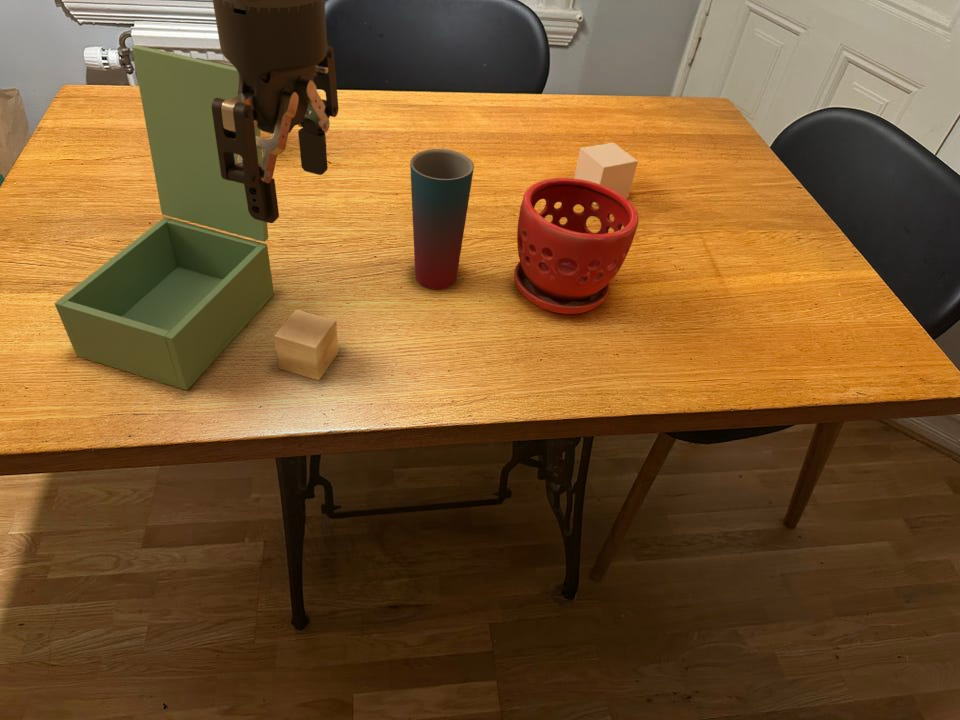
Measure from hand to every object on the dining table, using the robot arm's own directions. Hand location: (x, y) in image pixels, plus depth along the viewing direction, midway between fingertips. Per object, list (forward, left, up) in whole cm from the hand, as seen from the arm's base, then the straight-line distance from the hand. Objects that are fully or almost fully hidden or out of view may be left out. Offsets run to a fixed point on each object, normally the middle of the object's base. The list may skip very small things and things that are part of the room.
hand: (291, 194), depth 59 cm
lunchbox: (0, +15, -19) cm, 25 cm away
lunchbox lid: (+9, +15, -3) cm, 18 cm away
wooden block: (0, 0, -19) cm, 19 cm away
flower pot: (+23, -22, -20) cm, 37 cm away
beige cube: (+49, -22, -20) cm, 57 cm away
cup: (+19, -7, -20) cm, 28 cm away
